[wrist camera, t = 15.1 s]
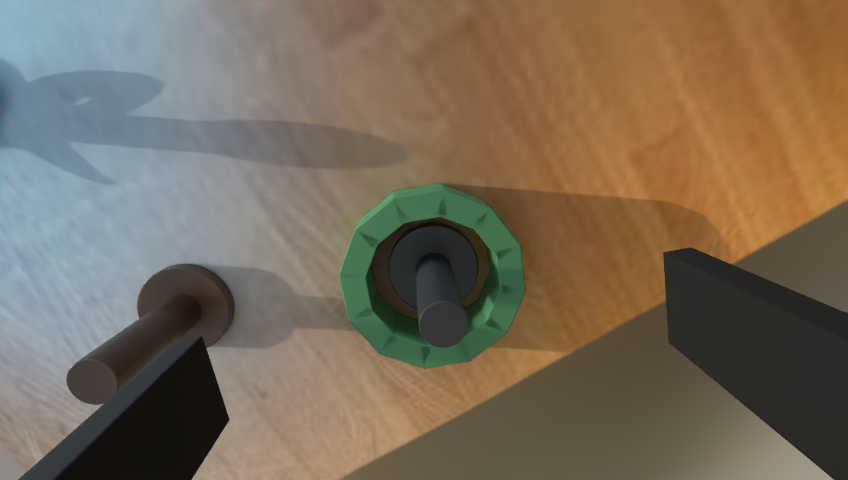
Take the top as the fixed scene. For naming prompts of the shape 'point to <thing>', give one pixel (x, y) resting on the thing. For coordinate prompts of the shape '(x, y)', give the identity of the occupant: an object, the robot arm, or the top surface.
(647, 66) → the top surface
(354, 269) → the ring
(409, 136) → the top surface
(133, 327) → the walnut peg
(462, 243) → the charcoal peg
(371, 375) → the top surface
